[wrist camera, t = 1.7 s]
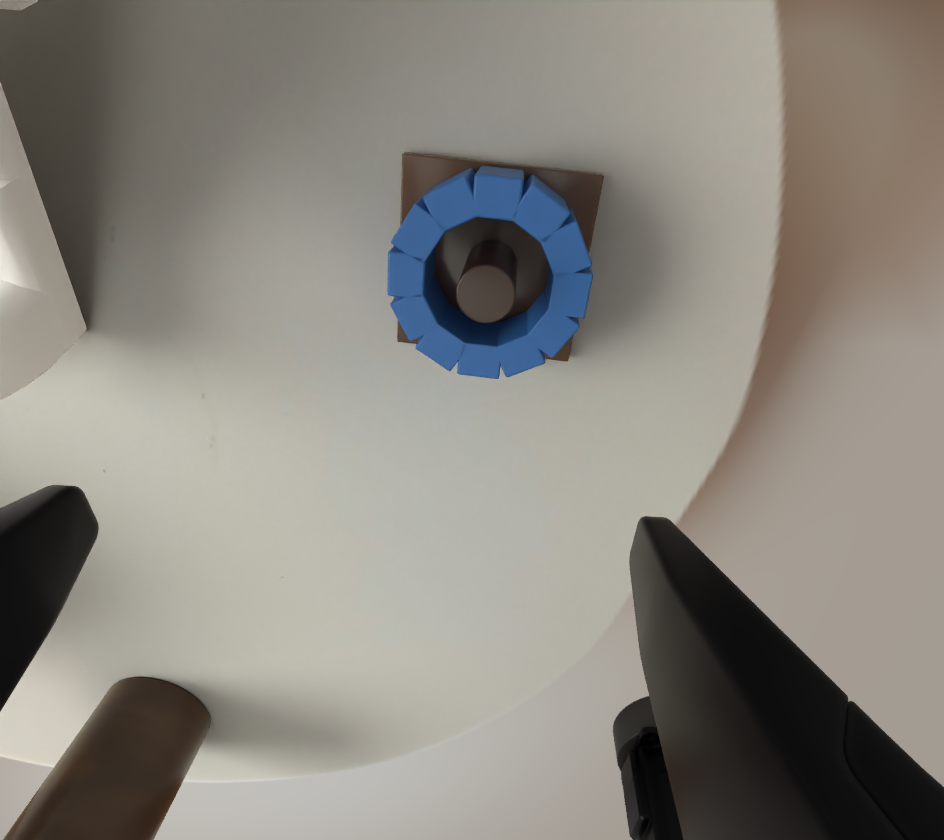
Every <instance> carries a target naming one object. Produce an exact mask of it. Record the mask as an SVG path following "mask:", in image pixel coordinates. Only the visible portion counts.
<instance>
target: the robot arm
mask: <svg viewBox="0 0 944 840" xmlns="http://www.w3.org/2000/svg"><path fill="white" fill-rule="evenodd" d="M98 528H99V527H98V522H97V519H96V517H95V515H94V513H93V511H92V509H91V507H90V505H89V502H88V500H87V498H86V496H85V494H84V492H83V491H82V490H81V489H80V488H79V487H76V486H64V485H51V486H48V487H45V488H43V489H41V490H39V491H37V492H35V493H32V494H30V495H28V496H26V497H24V498H22V499H20V500H18V501H15V502H13V503H11V504H9V505H7V506H5V507H3V508H1V509H0V711H1V710H2V708H3V706H4V705H5V703H6V702H7V700H8V698H9V697H10V695H11V693H12V692H13V690H14V689H15V687H16V685H17V684H18V682H19V680H20V679H21V677H22V676H23V674H24V672H25V671H26V669H27V668H28V666H29V664H30V663H31V661H32V659H33V658H34V656H35V655H36V653H37V651H38V650H39V648H40V646H41V645H42V643H43V642H44V640H45V638H46V637H47V635H48V633H49V632H50V630H51V628H52V627H53V625H54V623H55V621H56V619H57V617H58V615H59V614H60V612H61V610H62V608H63V606H64V604H65V602H66V600H67V598H68V596H69V594H70V592H71V589H72V587H73V585H74V583H75V581H76V579H77V577H78V575H79V573H80V571H81V569H82V567H83V565H84V563H85V561H86V559H87V557H88V555H89V553H90V551H91V549H92V547H93V545H94V543H95V540H96V538H97V535H98ZM630 574H631V582H632V591H633V599H634V607H635V614H636V615H635V616H636V624H637V631H638V641H639V648H640V655H641V661H642V666H643V671H644V675H645V679H646V683H647V688H648V692H649V696H650V700H651V704H652V709H653V713H654V717H655V721H656V725H657V728H656V727H643V728H642V729H641V730H640V732H639V735H638V737H637V739H636V742H635V744H634V747H633V749H632V750H631V751H630V752H629V753H628V756H627V758H626V761H625V763H624V766H623V768H622V771H621V780H622V785H623V792H624V798H625V805H626V812H627V819H628V826H629V833H630V837H631V838H632V839H633V840H944V787H943V786H942V785H941V784H940V783H938V782H937V781H936V780H935V779H934V778H933V777H932V776H931V775H930V774H928V773H927V772H926V771H925V770H924V769H923V768H921V767H920V765H918V764H917V763H916V762H915V761H914V760H913V759H912V758H911V757H910V756H909V755H908V754H907V753H906V752H905V751H904V750H903V749H902V748H900V746H899V745H898V744H896V743H895V742H894V741H893V740H892V739H891V738H890V737H889V736H888V735H887V734H886V733H885V732H884V731H883V730H882V729H881V728H880V727H879V726H878V725H877V724H876V723H875V722H873V720H871V718H870V717H869V716H868V715H866V714H865V712H863V710H861V709H860V708H859V707H858V706H857V705H856V704H855V703H854V702H852V701H849V702H848V697H847V695H846V694H845V693H844V692H843V691H842V690H841V689H840V688H839V687H838V686H837V685H836V684H835V683H834V682H833V681H832V680H831V679H830V678H829V677H828V676H827V675H826V674H825V673H824V672H823V671H822V670H821V669H820V668H819V667H818V666H817V665H816V664H815V663H814V662H813V661H812V660H811V659H810V658H809V657H808V656H807V655H806V654H805V653H804V652H802V650H800V648H799V647H797V645H796V644H795V643H793V641H791V640H790V638H789V637H787V636H786V635H785V634H784V633H783V632H782V631H781V630H780V629H779V628H778V627H777V626H776V625H775V624H774V623H773V622H772V621H771V620H770V619H769V618H768V617H767V616H766V615H765V614H764V613H763V612H762V611H761V610H760V609H759V608H758V607H757V606H756V605H755V604H754V603H753V602H752V601H751V600H750V599H749V598H748V597H747V596H746V595H745V594H744V593H743V592H742V591H741V590H740V589H739V588H738V587H737V586H736V585H735V584H734V583H733V582H732V581H731V580H730V579H729V578H728V577H727V576H726V575H725V574H724V573H723V572H722V571H721V570H720V569H719V568H718V567H717V566H716V565H715V564H714V563H713V562H712V561H711V560H709V558H708V557H707V556H705V554H704V553H703V552H702V551H701V550H700V549H699V548H698V547H697V546H695V545H694V543H693V542H692V541H691V540H690V539H689V538H688V537H686V535H684V534H683V533H682V532H681V531H680V530H679V529H678V528H677V527H676V526H675V525H674V524H673V523H672V522H671V521H670V520H669V519H667V518H664V517H647V516H645V517H642V518H641V519H640V520H639V522H638V525H637V529H636V532H635V536H634V540H633V544H632V548H631V552H630Z"/></svg>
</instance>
